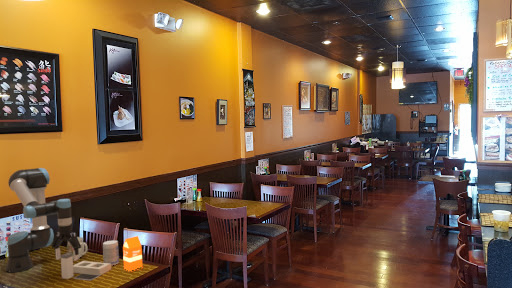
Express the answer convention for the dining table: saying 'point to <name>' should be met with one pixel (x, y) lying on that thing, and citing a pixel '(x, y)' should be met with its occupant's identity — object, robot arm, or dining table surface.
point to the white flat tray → (91, 268)
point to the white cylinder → (67, 265)
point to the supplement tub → (111, 252)
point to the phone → (86, 277)
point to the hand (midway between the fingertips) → (67, 259)
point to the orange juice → (132, 253)
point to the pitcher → (81, 250)
